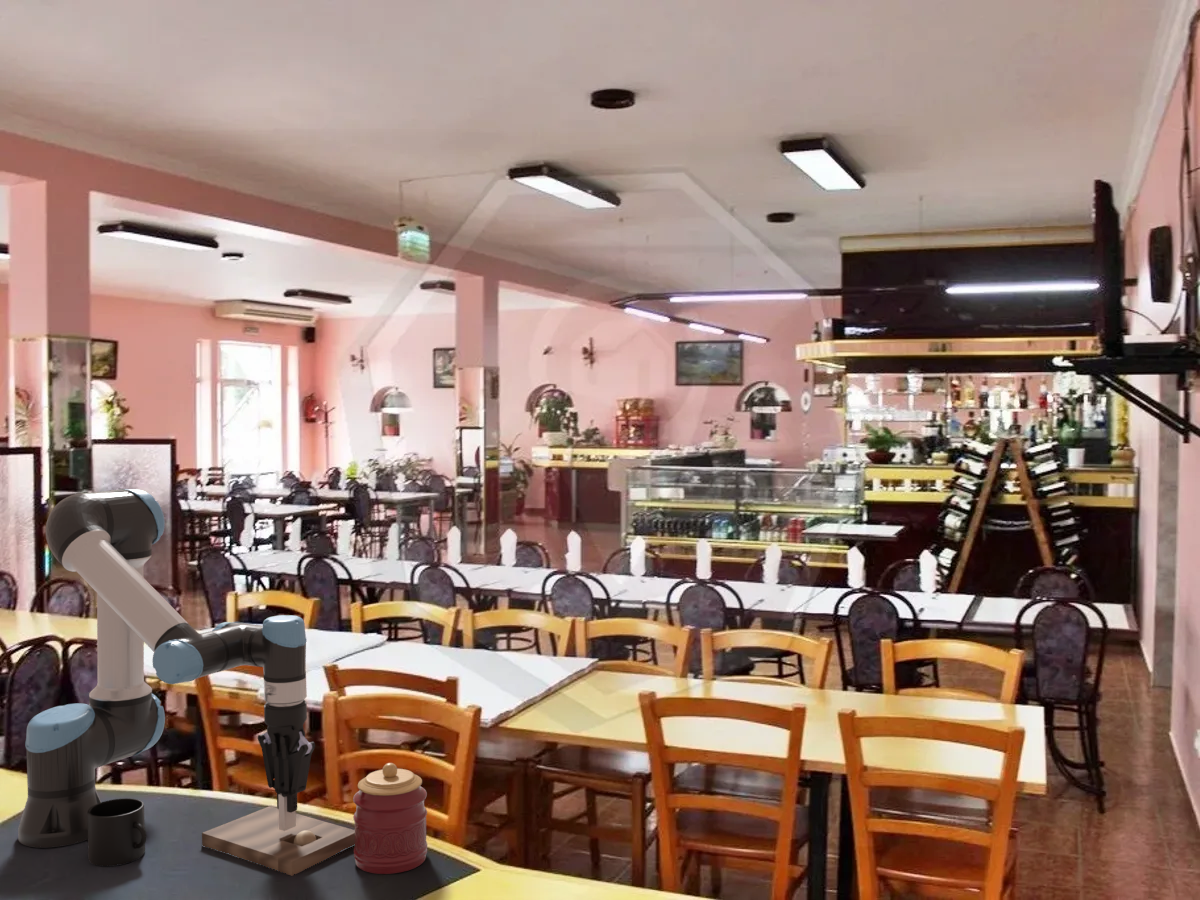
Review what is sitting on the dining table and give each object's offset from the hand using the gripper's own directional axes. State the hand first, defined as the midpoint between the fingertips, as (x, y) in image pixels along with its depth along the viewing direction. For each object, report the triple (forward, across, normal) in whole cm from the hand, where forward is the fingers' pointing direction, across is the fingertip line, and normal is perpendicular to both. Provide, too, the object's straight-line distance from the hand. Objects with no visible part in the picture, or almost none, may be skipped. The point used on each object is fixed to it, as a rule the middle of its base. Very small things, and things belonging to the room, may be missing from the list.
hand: (287, 827), depth 204 cm
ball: (+2, +4, 0) cm, 5 cm away
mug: (+4, -22, -19) cm, 29 cm away
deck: (+4, -2, 0) cm, 4 cm away
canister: (+4, +20, +6) cm, 21 cm away
